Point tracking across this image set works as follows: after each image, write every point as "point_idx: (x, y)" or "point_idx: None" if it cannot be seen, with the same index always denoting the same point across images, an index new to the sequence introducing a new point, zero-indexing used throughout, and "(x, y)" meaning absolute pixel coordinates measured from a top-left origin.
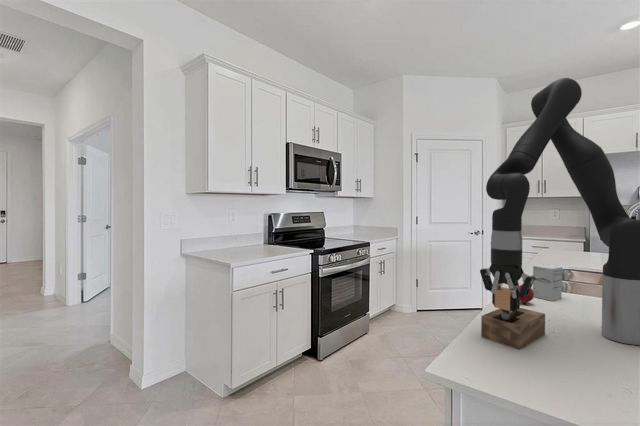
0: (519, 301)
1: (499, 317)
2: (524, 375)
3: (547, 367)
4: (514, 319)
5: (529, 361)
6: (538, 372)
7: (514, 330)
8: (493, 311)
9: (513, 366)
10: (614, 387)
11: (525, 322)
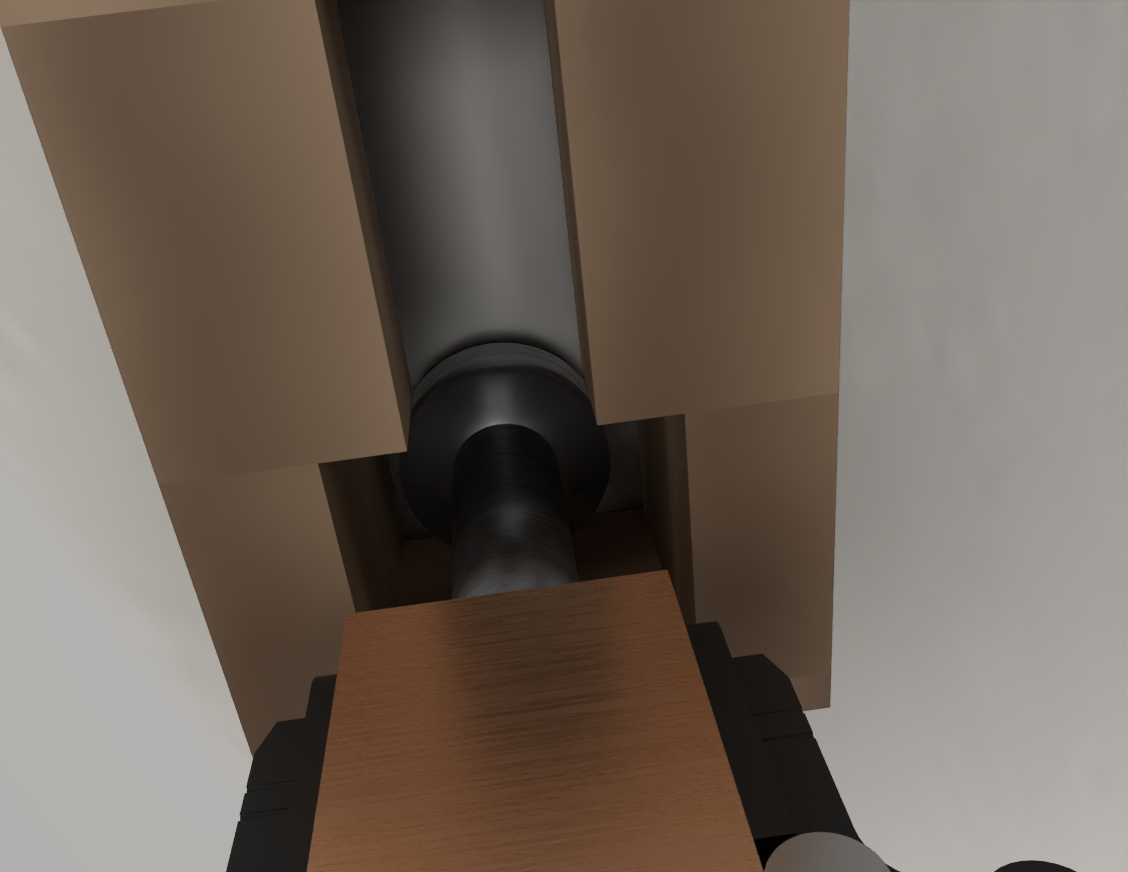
0: (832, 793)
1: (333, 464)
2: (966, 851)
3: (1054, 629)
4: None
5: (912, 655)
6: (1025, 748)
7: None
8: (169, 472)
9: (859, 814)
10: None
11: (813, 508)
